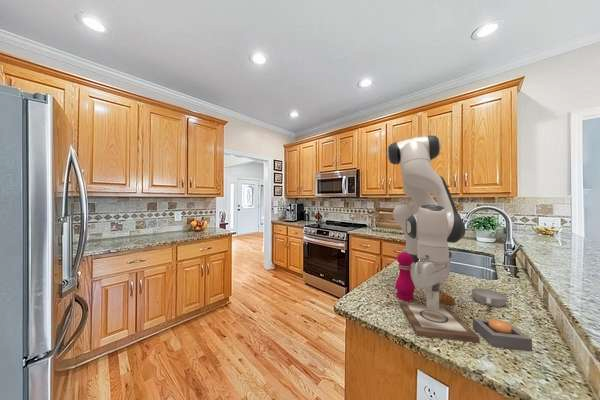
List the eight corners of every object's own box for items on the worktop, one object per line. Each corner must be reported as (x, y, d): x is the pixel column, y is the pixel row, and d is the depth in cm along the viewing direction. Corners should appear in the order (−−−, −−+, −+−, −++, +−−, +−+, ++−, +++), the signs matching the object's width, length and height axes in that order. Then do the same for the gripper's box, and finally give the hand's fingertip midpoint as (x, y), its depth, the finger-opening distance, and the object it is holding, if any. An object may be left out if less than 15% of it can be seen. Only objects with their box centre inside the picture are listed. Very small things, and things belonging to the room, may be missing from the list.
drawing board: (400, 306, 81) (400, 301, 81) (447, 310, 78) (447, 305, 78) (416, 335, 63) (416, 329, 63) (479, 342, 60) (479, 335, 60)
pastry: (456, 302, 85) (456, 292, 85) (451, 307, 81) (451, 297, 81) (430, 295, 93) (430, 286, 93) (424, 299, 88) (424, 290, 88)
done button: (484, 325, 65) (484, 317, 65) (503, 327, 64) (503, 319, 64) (496, 335, 60) (495, 326, 60) (516, 337, 59) (516, 328, 59)
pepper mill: (391, 295, 91) (391, 248, 92) (404, 293, 94) (404, 247, 94) (405, 302, 84) (405, 251, 85) (419, 300, 87) (418, 250, 87)
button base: (472, 327, 67) (472, 318, 67) (506, 331, 65) (506, 321, 65) (492, 346, 58) (492, 335, 58) (532, 351, 56) (531, 339, 56)
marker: (423, 305, 72) (423, 281, 73) (433, 304, 73) (433, 280, 73) (431, 310, 68) (431, 285, 69) (442, 310, 69) (442, 285, 69)
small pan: (506, 301, 86) (506, 292, 86) (509, 319, 73) (509, 307, 73) (472, 294, 93) (472, 285, 93) (469, 309, 80) (469, 298, 80)
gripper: (429, 260, 62) (430, 309, 62) (453, 252, 75) (454, 292, 74) (407, 256, 67) (407, 301, 67) (433, 249, 80) (434, 286, 79)
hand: (432, 296), depth 71 cm, fingers closed on marker, 4 cm apart
